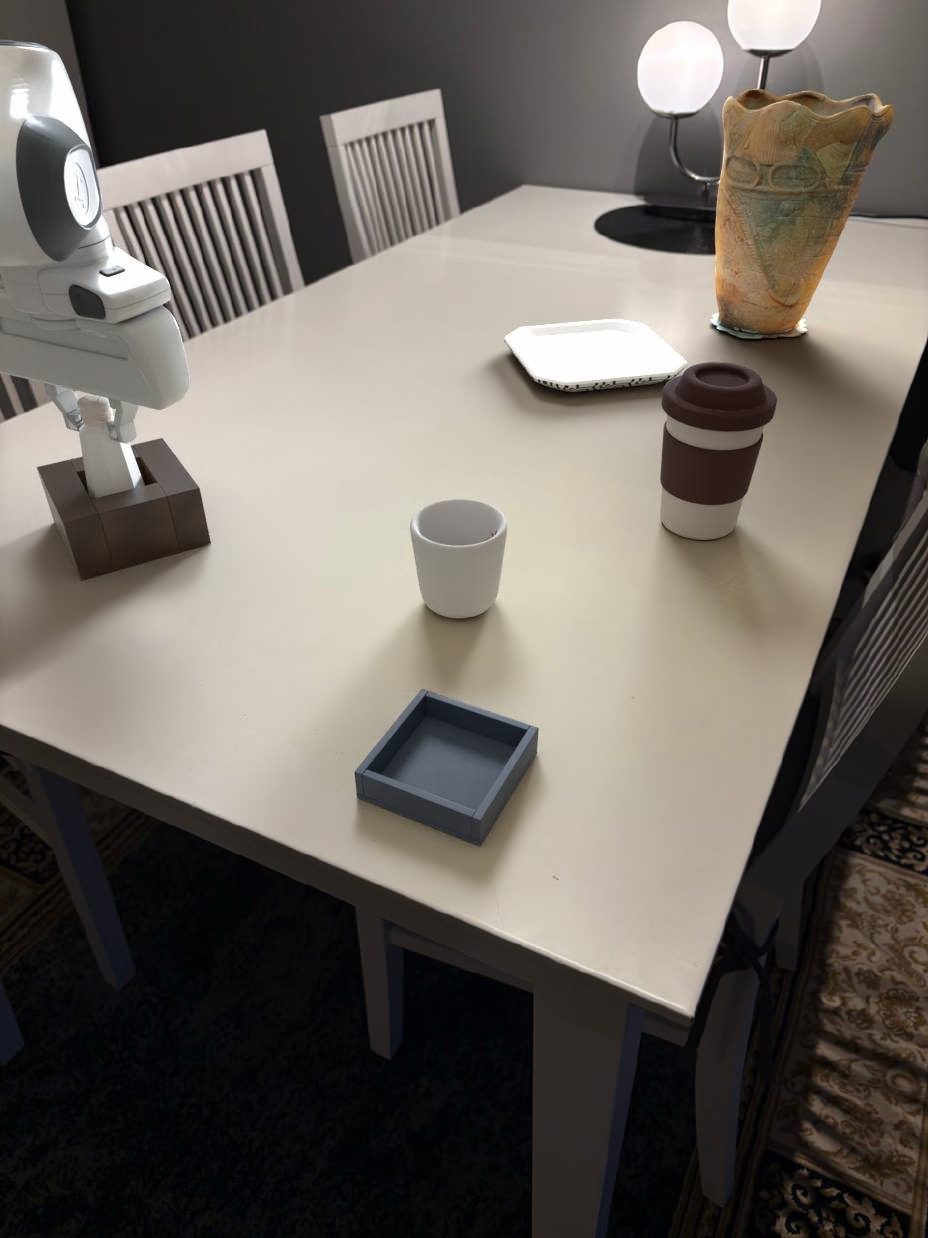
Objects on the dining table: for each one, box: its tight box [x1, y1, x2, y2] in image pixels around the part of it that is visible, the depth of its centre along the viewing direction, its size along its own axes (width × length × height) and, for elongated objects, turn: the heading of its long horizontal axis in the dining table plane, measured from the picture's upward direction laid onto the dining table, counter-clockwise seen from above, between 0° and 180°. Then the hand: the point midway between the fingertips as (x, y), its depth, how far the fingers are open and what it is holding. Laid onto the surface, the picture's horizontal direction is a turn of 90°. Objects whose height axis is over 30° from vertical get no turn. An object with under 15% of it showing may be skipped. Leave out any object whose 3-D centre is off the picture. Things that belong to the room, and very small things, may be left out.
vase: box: [709, 88, 895, 339], centre depth 124 cm, size 21×20×30 cm
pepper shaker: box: [77, 394, 145, 499], centre depth 83 cm, size 5×5×11 cm
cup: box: [409, 498, 509, 619], centre depth 77 cm, size 11×8×8 cm
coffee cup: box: [659, 361, 778, 541], centre depth 84 cm, size 10×10×15 cm
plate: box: [503, 318, 688, 393], centre depth 121 cm, size 21×21×2 cm
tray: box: [354, 688, 540, 847], centre depth 62 cm, size 9×9×2 cm
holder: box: [36, 437, 212, 581], centre depth 86 cm, size 12×12×6 cm
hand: (102, 434), depth 82 cm, fingers closed on pepper shaker, 4 cm apart
